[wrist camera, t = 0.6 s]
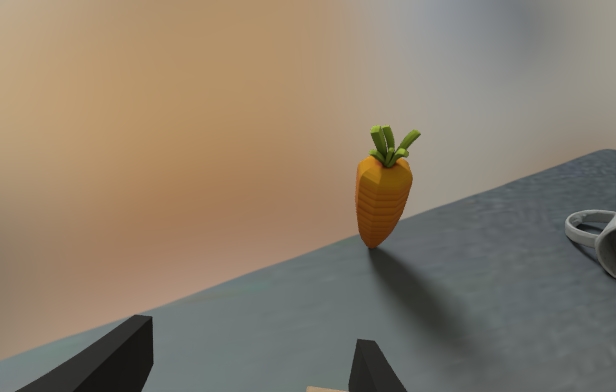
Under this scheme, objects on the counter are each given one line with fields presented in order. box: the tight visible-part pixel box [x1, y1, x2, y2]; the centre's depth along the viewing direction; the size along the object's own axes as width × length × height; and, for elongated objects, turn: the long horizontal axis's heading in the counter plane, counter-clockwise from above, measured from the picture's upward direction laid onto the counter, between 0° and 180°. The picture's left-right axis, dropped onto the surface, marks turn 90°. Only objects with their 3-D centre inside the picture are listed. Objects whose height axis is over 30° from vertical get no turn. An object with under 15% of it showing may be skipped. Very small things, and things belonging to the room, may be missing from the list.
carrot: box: [355, 125, 421, 248], centre depth 32 cm, size 5×5×15 cm
